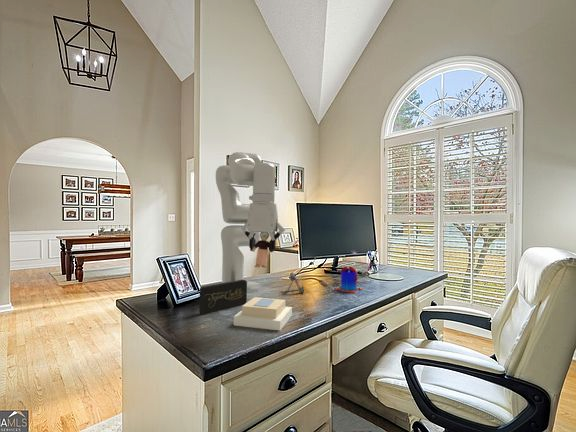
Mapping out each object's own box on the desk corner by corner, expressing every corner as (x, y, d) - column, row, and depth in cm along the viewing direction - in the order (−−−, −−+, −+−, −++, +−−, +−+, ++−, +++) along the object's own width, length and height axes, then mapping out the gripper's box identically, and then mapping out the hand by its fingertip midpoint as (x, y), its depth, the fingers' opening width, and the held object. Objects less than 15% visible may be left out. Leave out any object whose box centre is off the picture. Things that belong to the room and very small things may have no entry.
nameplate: (202, 315, 114) (202, 287, 114) (199, 314, 115) (199, 286, 115) (246, 304, 129) (247, 279, 129) (243, 303, 131) (244, 279, 131)
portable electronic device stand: (303, 294, 148) (304, 276, 148) (287, 293, 148) (287, 275, 148) (303, 289, 156) (303, 272, 156) (287, 289, 157) (287, 272, 157)
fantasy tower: (332, 289, 157) (332, 266, 157) (344, 286, 166) (344, 263, 166) (353, 294, 150) (353, 269, 150) (364, 290, 158) (365, 266, 158)
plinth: (233, 325, 104) (233, 306, 104) (250, 311, 119) (251, 294, 119) (280, 330, 100) (280, 311, 100) (291, 315, 116) (292, 298, 116)
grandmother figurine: (254, 268, 106) (256, 231, 105) (249, 265, 109) (252, 229, 109) (274, 267, 110) (277, 231, 109) (269, 265, 113) (272, 230, 112)
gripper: (235, 198, 108) (234, 250, 108) (284, 199, 103) (283, 253, 103) (244, 199, 115) (243, 248, 115) (290, 200, 110) (289, 251, 110)
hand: (262, 250), depth 109 cm, fingers closed on grandmother figurine, 6 cm apart
